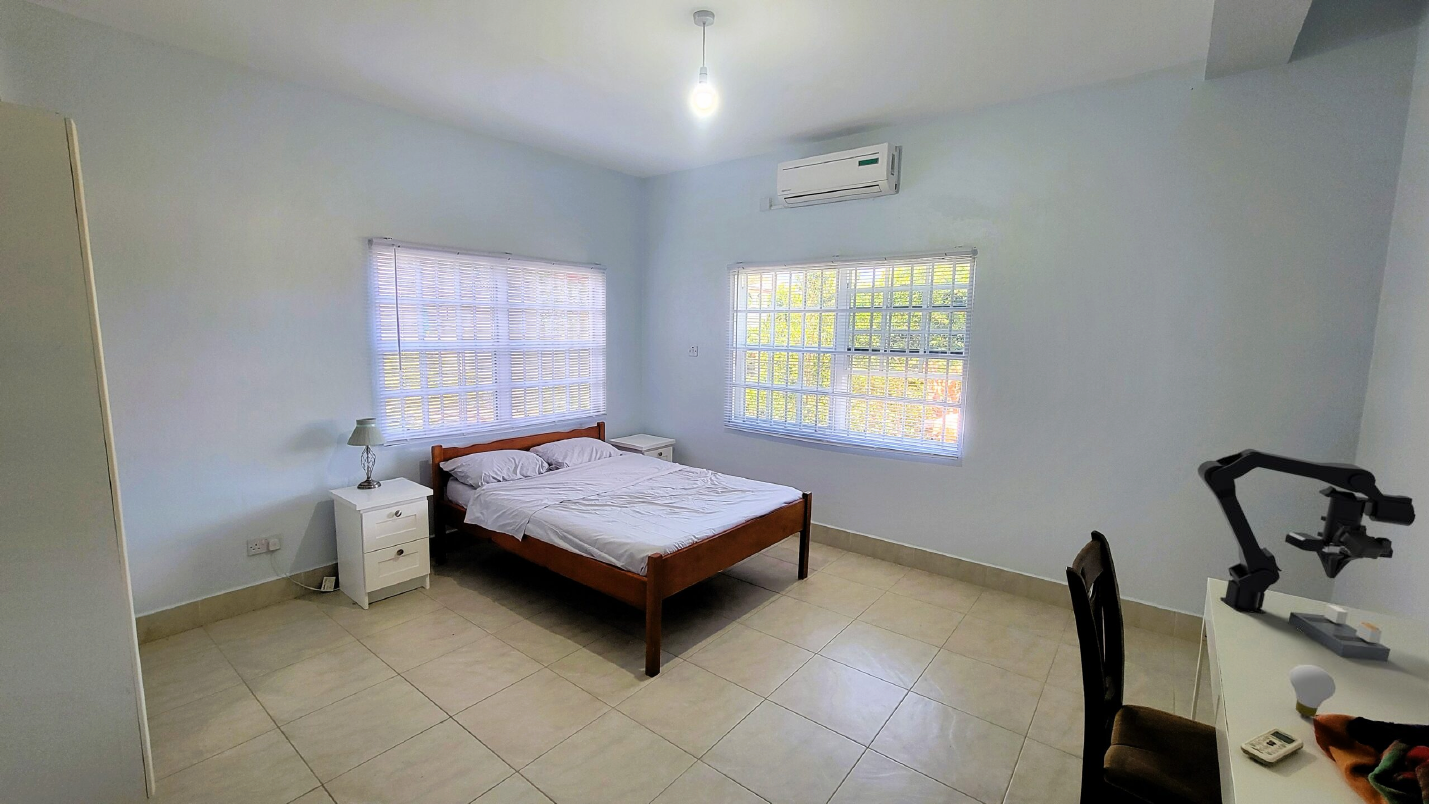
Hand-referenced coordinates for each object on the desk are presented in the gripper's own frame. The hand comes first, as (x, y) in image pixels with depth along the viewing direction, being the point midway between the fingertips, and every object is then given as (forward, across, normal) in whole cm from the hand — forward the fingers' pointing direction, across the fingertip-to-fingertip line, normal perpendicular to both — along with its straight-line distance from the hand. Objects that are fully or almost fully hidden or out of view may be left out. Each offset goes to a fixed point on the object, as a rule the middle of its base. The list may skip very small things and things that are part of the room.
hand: (1330, 577), depth 140 cm
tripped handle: (+9, -1, -13) cm, 16 cm away
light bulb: (+12, -34, -40) cm, 54 cm away
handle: (+9, -2, -5) cm, 10 cm away
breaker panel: (+12, -4, -9) cm, 15 cm away
